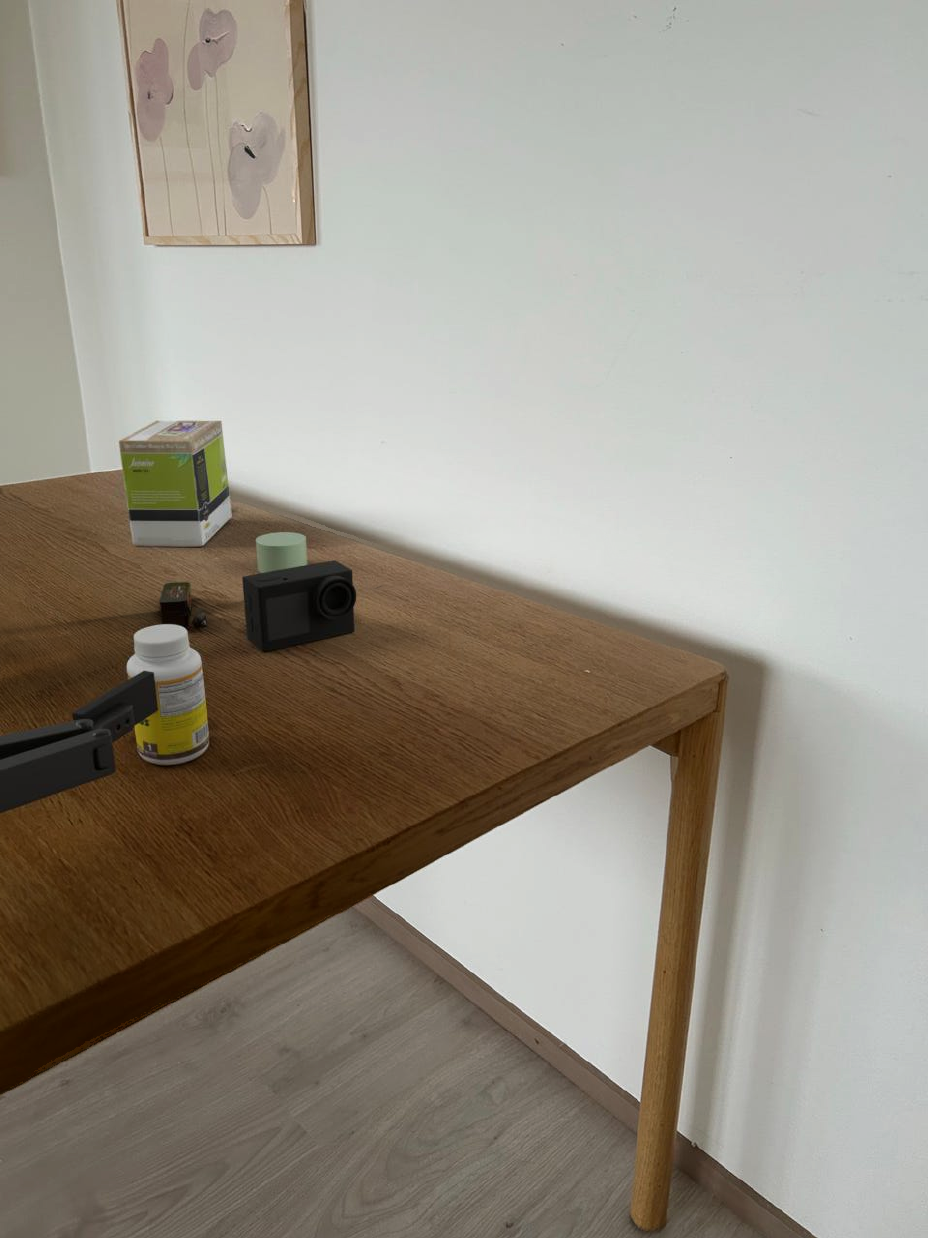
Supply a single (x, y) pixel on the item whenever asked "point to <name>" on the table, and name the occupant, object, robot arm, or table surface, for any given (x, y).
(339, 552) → the table surface
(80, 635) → the table surface
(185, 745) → the supplement bottle
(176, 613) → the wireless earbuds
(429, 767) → the table surface
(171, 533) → the tea box
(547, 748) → the table surface
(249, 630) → the digital camera
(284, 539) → the pale green cylinder
